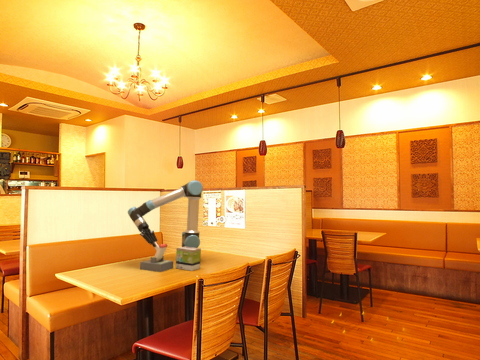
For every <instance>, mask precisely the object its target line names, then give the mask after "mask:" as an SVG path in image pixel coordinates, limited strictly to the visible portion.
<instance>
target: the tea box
mask: <svg viewBox="0 0 480 360" xmlns="http://www.w3.org/2000/svg"><path fill="white" fill-rule="evenodd" d="M201 251H202V248H200V247H198V248H193V247H186V246H184V247H182V246H181V247H176V251H175V253H176V254H175V255H176V256H175V269H179V270H186V271H190V272H193V271H197V270H200V269H201V256H202V255H201Z"/></svg>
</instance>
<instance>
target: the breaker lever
mask: <svg viewBox="0 0 480 360" xmlns="http://www.w3.org/2000/svg"><path fill="white" fill-rule="evenodd" d="M158 246H159V248H158V250H157V251H156V252H155V254H154V256H153V257H154V258H156V261H159V260H161V259H162V257H163V256H164V254H165V253H166V249H167V247H168V243H163V244H158Z"/></svg>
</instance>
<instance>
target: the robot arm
mask: <svg viewBox="0 0 480 360" xmlns="http://www.w3.org/2000/svg"><path fill="white" fill-rule="evenodd" d="M203 187H204V186H203V184H202V182H200V181H199V180H191V181H189V182H187V183H186V184H183V185H181V186H180V187H179V188H177V189H175V190H173V191H170V192H168V193H165V194H163V195H161V196H158V197H156V198H153V199H148V200H147V201H145V202H144V203H142V204H141V205H139V206H138V207H136V206H133V207H130V208H129V209H128V210H127V214H128V216H129V218H130V219H131V221H132V223H133V224H134V225H135V226H136V227H135V228H137V230H138V232H139V233H140V234H139V235H140V236H141V237H142V238H143V239H144V240H145V241H146V242H147V243H148V244H149V245H150V246H151V245H152V246H153V248H154V249H155V251H156V252H157V250H158V248H159V244H158V243H157V242H158V239H157V238H158V237H156V234H155V231H154V230H151V229H150V227H149V224H148V222H147V221H146V219H145V218H144V216H146V215H147V214H149V213H150V212H151V211H153V210H155V209H157V208H160V207H162V206H165V205H167V204H169V203H172V202H175V201H177V200H179V199H181V198H187V218H186V230H185V231H182V233H181V247H184V246H186V247H193V248H200V244H201V239H200V231H199V214H200V213H199V212H200V211H199V210H200V200H201V198H202V194H203V193H202V192H203V189H204V188H203Z"/></svg>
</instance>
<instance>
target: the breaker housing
mask: <svg viewBox="0 0 480 360" xmlns="http://www.w3.org/2000/svg"><path fill="white" fill-rule="evenodd" d="M164 257H165V256H164V255H163V257H162V259H161V260H159V261H156V258H154V256H152V257H151V256H150V259H147V260H142V261H140V263H139V270H144V271H151V272H156V273H157V272H158V273H162V272H166V271H169V270H172V269H174V260H167V259H164Z"/></svg>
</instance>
